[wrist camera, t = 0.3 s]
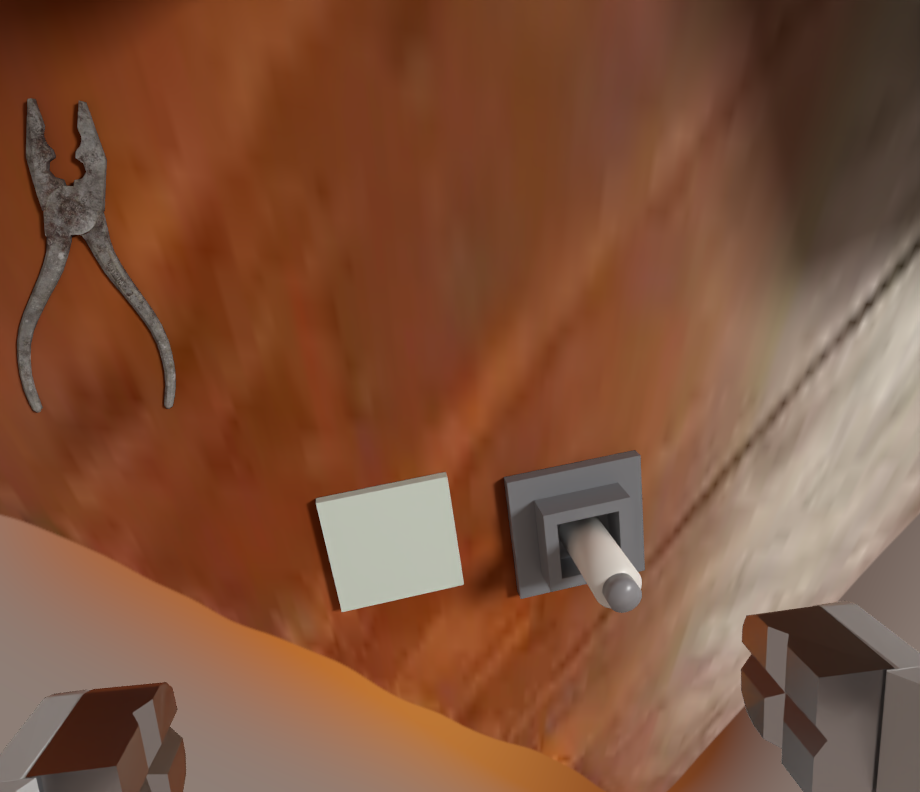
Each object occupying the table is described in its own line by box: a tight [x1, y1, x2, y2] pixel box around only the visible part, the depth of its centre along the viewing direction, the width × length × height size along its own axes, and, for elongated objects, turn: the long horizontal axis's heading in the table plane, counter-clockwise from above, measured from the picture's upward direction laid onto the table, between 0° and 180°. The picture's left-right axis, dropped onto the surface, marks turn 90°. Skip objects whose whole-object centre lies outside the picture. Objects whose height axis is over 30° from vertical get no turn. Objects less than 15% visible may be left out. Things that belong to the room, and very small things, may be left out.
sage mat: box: [316, 472, 464, 612], centre depth 52 cm, size 10×10×1 cm
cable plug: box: [559, 516, 642, 613], centre depth 50 cm, size 4×4×9 cm
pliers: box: [17, 98, 176, 412], centre depth 42 cm, size 10×1×20 cm
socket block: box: [504, 450, 645, 599], centre depth 54 cm, size 11×11×4 cm
